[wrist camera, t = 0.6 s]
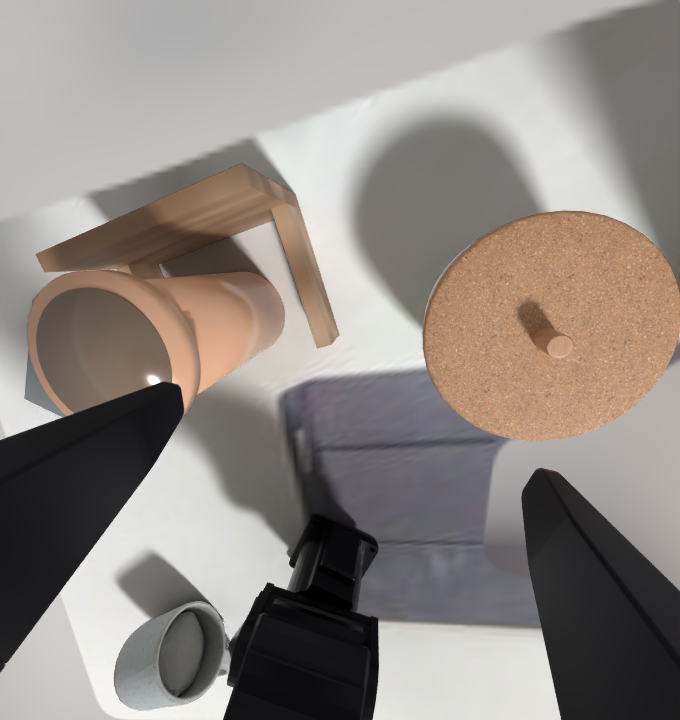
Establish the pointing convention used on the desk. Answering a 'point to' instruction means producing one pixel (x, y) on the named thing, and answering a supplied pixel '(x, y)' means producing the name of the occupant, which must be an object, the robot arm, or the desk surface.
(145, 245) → the light wood arch piece
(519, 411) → the lidded jar
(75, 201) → the desk surface
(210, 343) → the terracotta pot
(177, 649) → the ceramic mug
